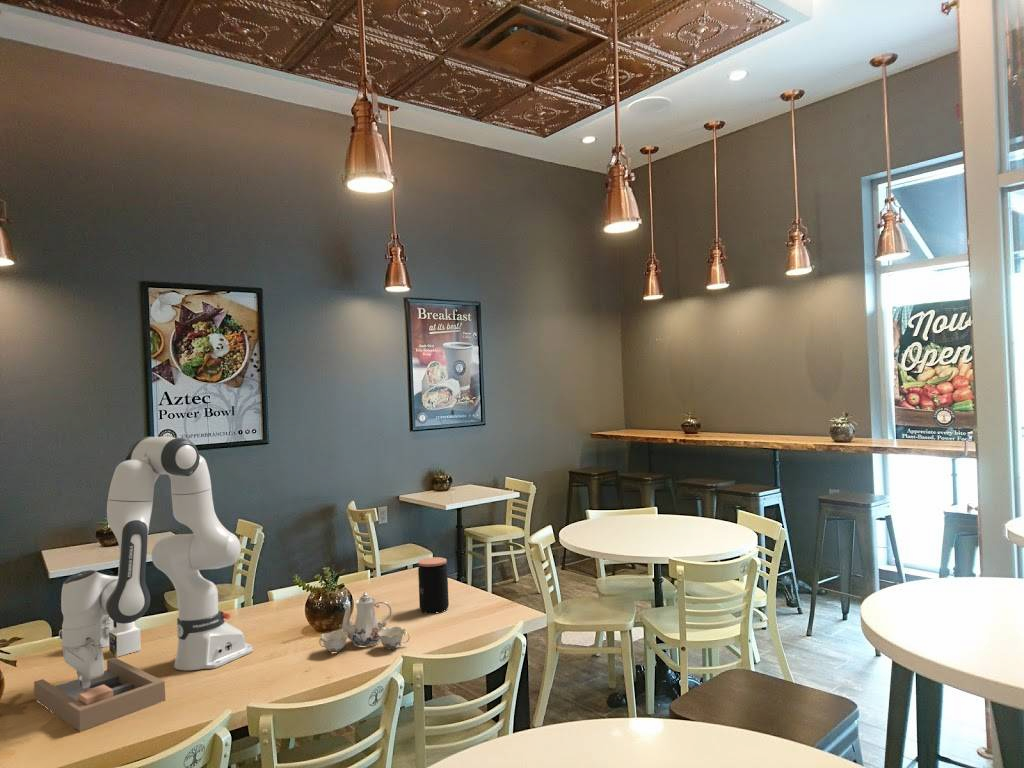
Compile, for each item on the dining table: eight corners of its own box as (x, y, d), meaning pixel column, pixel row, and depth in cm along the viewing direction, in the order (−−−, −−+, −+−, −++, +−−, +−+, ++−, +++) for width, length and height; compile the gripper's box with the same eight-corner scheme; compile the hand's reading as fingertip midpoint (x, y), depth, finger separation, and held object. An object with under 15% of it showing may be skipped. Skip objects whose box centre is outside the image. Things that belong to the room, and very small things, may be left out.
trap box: (114, 674, 195) (114, 657, 195) (165, 700, 176) (164, 681, 176) (34, 700, 179) (34, 681, 180) (80, 732, 160) (79, 711, 160)
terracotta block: (104, 701, 172) (103, 684, 172) (113, 707, 168) (113, 689, 168) (78, 710, 167) (77, 692, 167) (87, 717, 163) (86, 698, 163)
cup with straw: (99, 651, 215) (98, 589, 216) (84, 647, 220) (82, 587, 220) (125, 642, 223) (124, 582, 223) (110, 639, 227) (108, 580, 228)
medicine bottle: (109, 652, 214) (108, 615, 214) (133, 646, 219) (132, 609, 219) (116, 657, 209) (115, 619, 209) (141, 650, 214) (140, 613, 215)
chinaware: (316, 665, 200) (313, 612, 198) (323, 640, 216) (320, 591, 215) (410, 655, 204) (408, 603, 203) (409, 632, 221) (407, 583, 219)
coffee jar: (424, 605, 250) (422, 557, 251) (451, 605, 248) (449, 557, 249) (416, 614, 239) (414, 564, 240) (445, 614, 238) (442, 563, 238)
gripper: (110, 638, 171) (112, 692, 171) (83, 623, 184) (85, 672, 184) (82, 646, 166) (84, 702, 166) (56, 630, 179) (58, 681, 179)
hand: (84, 686), depth 175 cm, fingers closed
